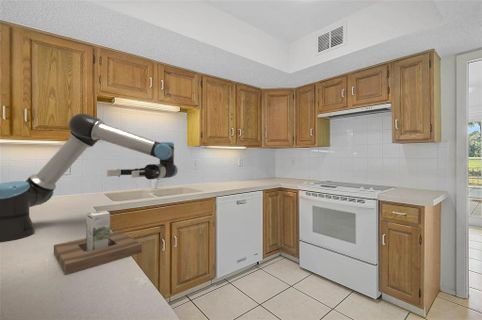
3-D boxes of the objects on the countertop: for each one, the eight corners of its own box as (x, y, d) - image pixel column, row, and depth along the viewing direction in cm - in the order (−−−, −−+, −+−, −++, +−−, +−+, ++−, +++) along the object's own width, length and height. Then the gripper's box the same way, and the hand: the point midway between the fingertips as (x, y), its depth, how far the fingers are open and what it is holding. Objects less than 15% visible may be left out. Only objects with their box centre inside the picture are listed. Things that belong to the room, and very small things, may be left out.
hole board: (53, 253, 82) (53, 244, 82) (120, 237, 98) (119, 230, 98) (65, 274, 67) (65, 264, 67) (141, 252, 83) (141, 244, 83)
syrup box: (103, 248, 87) (103, 209, 86) (110, 252, 83) (110, 212, 83) (86, 253, 82) (85, 212, 82) (92, 257, 78) (92, 215, 78)
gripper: (175, 180, 113) (143, 184, 93) (135, 178, 122) (98, 181, 102) (175, 164, 113) (143, 165, 93) (135, 163, 122) (98, 164, 102)
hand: (119, 173), depth 97 cm, fingers open, 13 cm apart
